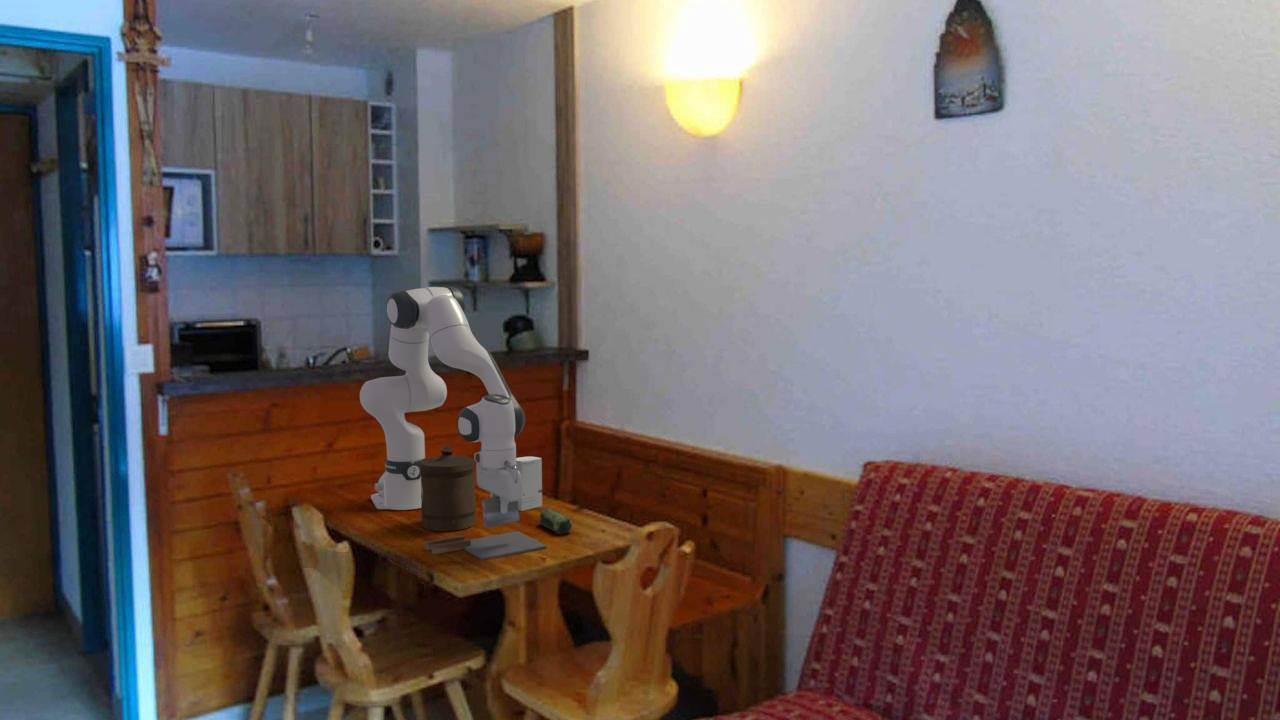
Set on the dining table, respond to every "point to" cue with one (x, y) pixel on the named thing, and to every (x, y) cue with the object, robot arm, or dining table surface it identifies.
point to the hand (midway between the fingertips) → (500, 511)
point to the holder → (447, 544)
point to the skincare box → (530, 482)
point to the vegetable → (555, 521)
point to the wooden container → (448, 492)
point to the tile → (494, 516)
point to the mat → (502, 545)
